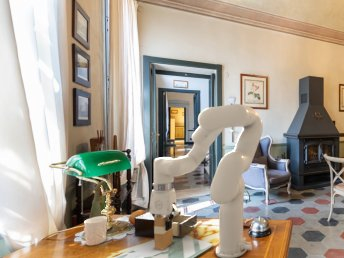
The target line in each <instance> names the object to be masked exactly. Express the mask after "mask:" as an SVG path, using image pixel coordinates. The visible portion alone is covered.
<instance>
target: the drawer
mask: <svg viewBox="0 0 344 258" xmlns="http://www.w3.org/2000/svg"><path fill="white" fill-rule="evenodd" d="M202 224H203V221H201V220H200V221H198V214H194V215H189V214H181V215H180V214H178V215H176V216H175V217H174V218H173V237H178V238H179V239H183V238H184V237H186V236H187V235H188V234H189V233H191V232H193V231H194V230H196V229H197V228H198V227H199V226H201V225H202Z"/></svg>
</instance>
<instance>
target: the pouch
mask: <svg viewBox="0 0 344 258" xmlns="http://www.w3.org/2000/svg"><path fill="white" fill-rule="evenodd" d="M105 179H106V180H107V181H108V179H107V178H105ZM101 185H102V186H103V188H104V191H108V182H107V183H106V182H105V181H103V179H101V180H100V182H97V183H96V186H95V188H94V190H95V191H94V197H93V200H92V201H91V205H92V206H91V209H90V213H89V217H88V219H90V218H93V217H98V216H106V215H103V214H101V211H102V210H103V209H105V207H106V203H105V201H106V196H102V192H101V188H100V187H101ZM106 217H107V216H106ZM107 222H108V217H107Z"/></svg>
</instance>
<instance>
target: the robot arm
mask: <svg viewBox="0 0 344 258" xmlns="http://www.w3.org/2000/svg"><path fill="white" fill-rule="evenodd" d="M197 123H198V125H199V126H198V127H197V128H196V129H195V130H194V132H193V133H192V134H191V141H192V142H193V146H192V147H191V149H190V150H189V152H188V153H187V154H186V155H184V156H179V157H176V158H175V157H174V158H172V157H170V156H162V157H157V158H154V160H153V183H152V185H151V186H152V187H153V189H152V190H151V193H150V198H149V210H148V212H149V213H151V214H152V216H153V217H154V218H155V217H157V216H159V215H166V220H167V221H166V222H165V230H166V231H168V230H170V229H171V228H172V219H173V218H174V217H175V216H176V215H178V214H179V212H178V211H179V209H178V208H177V207H178V205H177V204H178V203H177V202H178V201H177V194H176V189H175V188H174V182H175V181H174V180H175V178H176V177H181V176H183V175H187V174H189V173H192V172H194V171H195V170H196V169H197V168H199V166H200V165H201V163H202V162H203V161H204V160H205V158H206V156H207V155H208V152H209V150H210V147H211V146H212V144H213V143H214V142H215V140H216V139H217V138H218V137H219V136H220V134H221V133H222V132H223V131H224V130H225V129H229V128H239V127H241V128H242V129H241V132H240V133H239V135H238V138H237V140H236V143H235V146H234V148H233V150H232V151H229V152H227V153H225V154H224V155H223V156H222V157H221V159H220V161H219V163H218V165H217V167H216V170H215V173H214V176H213V178H212V181H211V183H210V186H209V196H210V198H211V200H212V201H213V202H214V203H215V204H218V205H219V213H218V217H219V219H218V221H219V231H218V232H219V241H218V242H219V244H218V245H217V246H216V248H215V255H216V256H217V257H218V258H238V257H241V256H243V255H245V253H247V251H252V250H253V245H252V244H253V243H252V242H251V241H247V240H246V239H247V238H246V237H245V236H244V200H245V199H244V198H245V190H246V189H245V188H246V184H245V180H244V178H243V177H242V175H243V174H244V173H246V172H247V171H248V170H249V169H250V168H251V166H252V163H253V160H254V157H255V154H256V152H257V149H258V146H259V144H260V140H261V138H262V135H263V131H264V124H263V120H262V117H261V116H260V114H259V113H258V112H257V111H256V110H255V109H254V108H253V107H251V106H248V105H245V104H240V103H234V104H233V103H232V104H226V105H219V106H211V107H207V108H204V109H202V110H201V111H200V113H199V114H198V117H197ZM173 212H174V214H173ZM169 215H170V217H169Z"/></svg>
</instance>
